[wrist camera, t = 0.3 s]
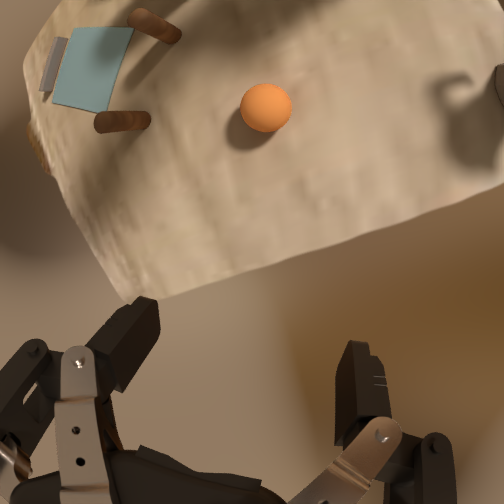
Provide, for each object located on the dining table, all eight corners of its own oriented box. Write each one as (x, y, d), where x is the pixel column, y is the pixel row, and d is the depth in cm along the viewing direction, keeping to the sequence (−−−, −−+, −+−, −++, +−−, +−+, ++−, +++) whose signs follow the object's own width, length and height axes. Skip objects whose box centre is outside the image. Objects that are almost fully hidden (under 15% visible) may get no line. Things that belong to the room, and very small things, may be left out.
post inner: (168, 27, 28) (132, 7, 20) (184, 29, 28) (151, 8, 20) (161, 43, 29) (123, 27, 21) (177, 45, 29) (141, 28, 21)
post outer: (138, 109, 33) (96, 109, 25) (153, 113, 33) (112, 113, 25) (133, 126, 35) (91, 131, 26) (148, 131, 34) (107, 135, 26)
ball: (255, 81, 30) (246, 73, 25) (299, 97, 30) (298, 91, 25) (239, 122, 32) (226, 121, 27) (282, 138, 32) (277, 140, 27)
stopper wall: (64, 38, 29) (54, 37, 27) (68, 38, 29) (58, 36, 27) (48, 90, 34) (38, 91, 31) (52, 91, 34) (42, 91, 31)
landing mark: (75, 28, 28) (74, 28, 28) (134, 28, 28) (134, 27, 28) (52, 102, 34) (51, 102, 34) (105, 114, 34) (105, 114, 34)
